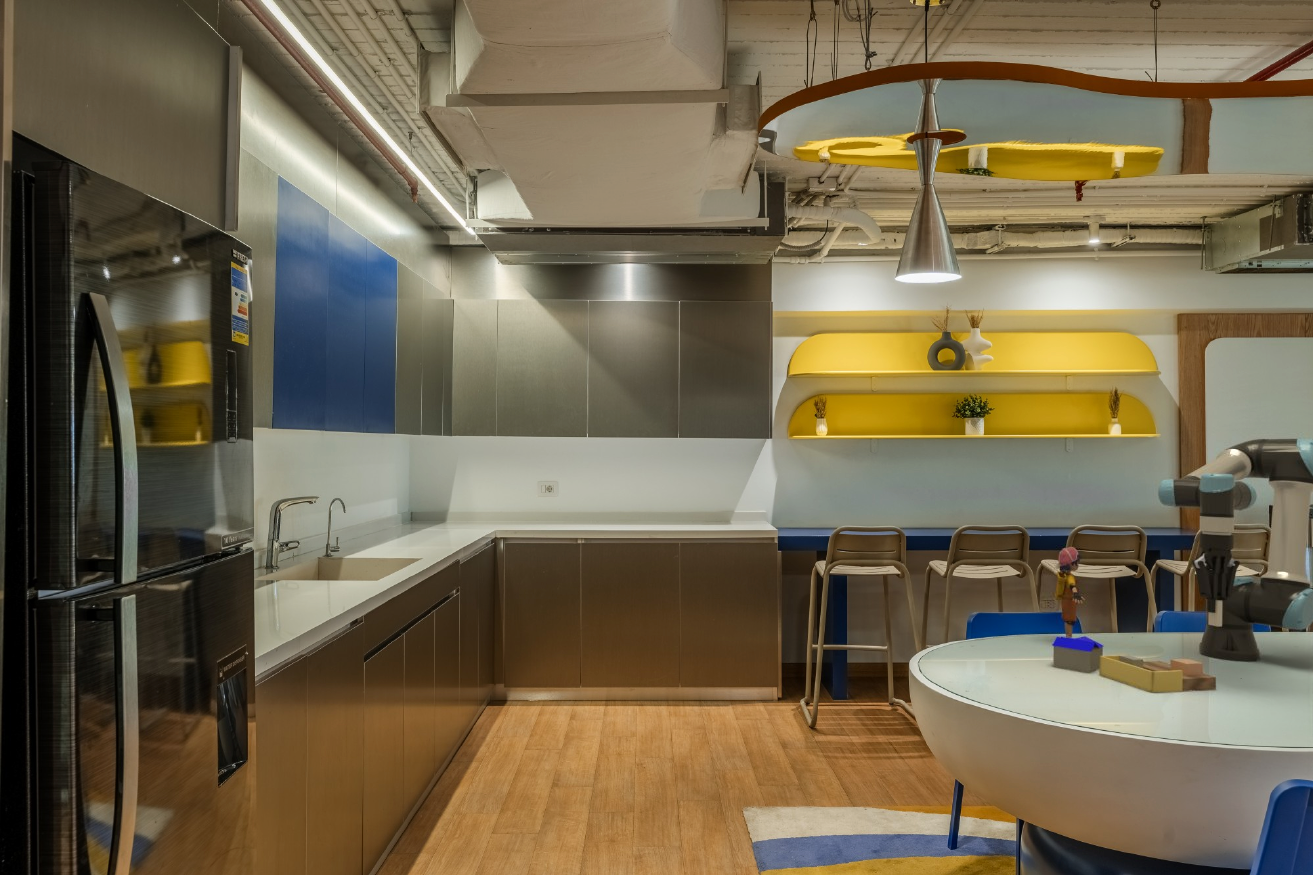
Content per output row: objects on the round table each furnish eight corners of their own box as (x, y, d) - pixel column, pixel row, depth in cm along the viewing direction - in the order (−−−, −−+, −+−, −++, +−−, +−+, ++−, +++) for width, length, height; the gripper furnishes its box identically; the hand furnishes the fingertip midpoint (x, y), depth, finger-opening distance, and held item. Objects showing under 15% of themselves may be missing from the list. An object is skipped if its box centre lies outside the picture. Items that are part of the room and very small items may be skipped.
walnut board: (1159, 672, 242) (1159, 660, 242) (1215, 689, 225) (1215, 677, 225) (1127, 673, 240) (1128, 662, 240) (1182, 691, 222) (1182, 678, 222)
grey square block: (1128, 655, 237) (1119, 655, 236) (1143, 659, 232) (1133, 659, 231) (1128, 674, 237) (1118, 674, 236) (1143, 678, 232) (1133, 679, 231)
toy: (1090, 653, 265) (1091, 551, 265) (1064, 651, 266) (1065, 550, 267) (1070, 637, 288) (1071, 543, 289) (1045, 635, 289) (1047, 542, 290)
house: (1063, 661, 254) (1064, 633, 254) (1104, 668, 246) (1104, 639, 246) (1049, 666, 246) (1049, 637, 246) (1090, 674, 239) (1090, 644, 239)
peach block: (1186, 670, 232) (1186, 658, 232) (1202, 675, 227) (1202, 663, 227) (1170, 671, 230) (1170, 659, 230) (1186, 675, 226) (1186, 663, 226)
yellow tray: (1127, 673, 240) (1127, 654, 240) (1182, 691, 222) (1182, 670, 222) (1099, 674, 237) (1099, 655, 238) (1152, 692, 220) (1152, 672, 220)
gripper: (1224, 532, 237) (1223, 622, 236) (1183, 531, 234) (1182, 623, 233) (1249, 534, 229) (1248, 627, 229) (1207, 534, 226) (1206, 628, 226)
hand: (1215, 625), depth 231 cm, fingers closed
